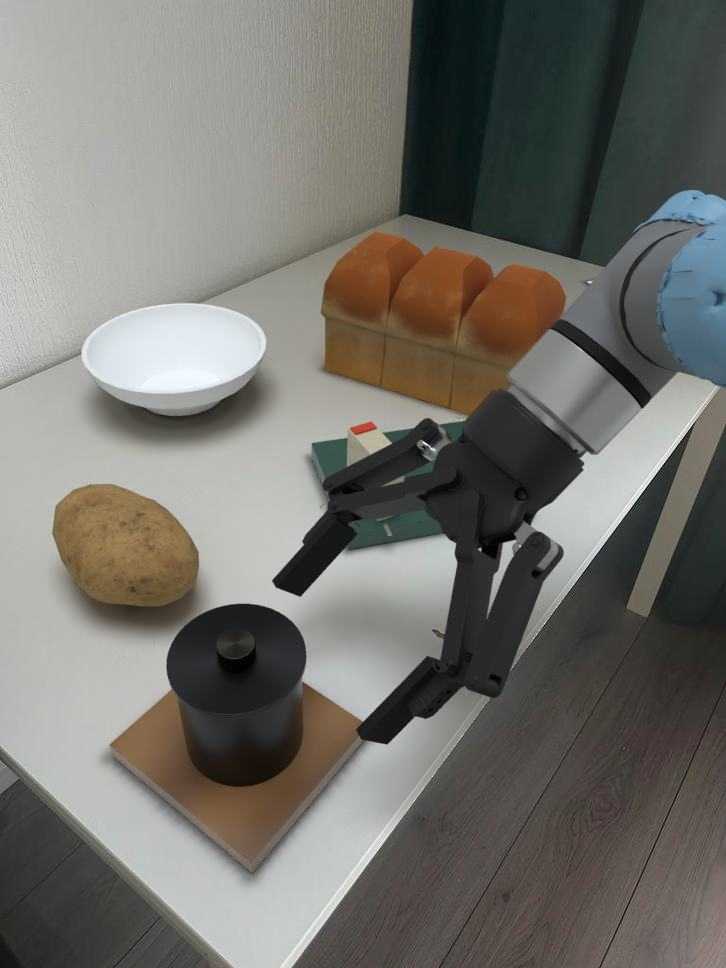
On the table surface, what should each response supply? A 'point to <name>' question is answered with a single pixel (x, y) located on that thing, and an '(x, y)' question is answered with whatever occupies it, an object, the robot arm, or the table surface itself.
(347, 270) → the bread
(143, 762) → the board
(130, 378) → the bowl
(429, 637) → the table surface
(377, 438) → the cream juice carton
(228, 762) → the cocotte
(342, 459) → the green rectangular slab
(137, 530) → the potato
